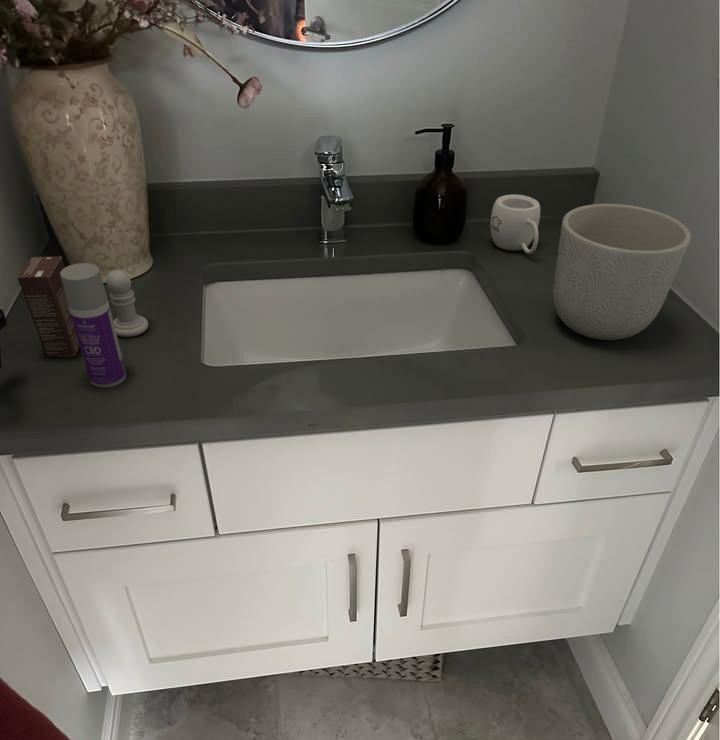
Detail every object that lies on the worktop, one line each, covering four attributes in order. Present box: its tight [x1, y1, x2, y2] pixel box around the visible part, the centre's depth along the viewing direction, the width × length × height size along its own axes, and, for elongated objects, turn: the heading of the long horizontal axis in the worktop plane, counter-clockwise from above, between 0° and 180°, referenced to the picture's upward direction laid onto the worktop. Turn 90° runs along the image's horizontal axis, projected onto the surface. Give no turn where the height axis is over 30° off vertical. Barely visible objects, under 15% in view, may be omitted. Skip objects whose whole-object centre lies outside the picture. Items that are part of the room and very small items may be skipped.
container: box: [60, 262, 127, 389], centre depth 87 cm, size 5×5×15 cm
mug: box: [489, 194, 541, 255], centre depth 122 cm, size 12×8×8 cm
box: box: [17, 255, 81, 358], centre depth 93 cm, size 6×4×12 cm
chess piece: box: [105, 269, 149, 338], centre depth 98 cm, size 5×5×9 cm
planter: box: [552, 203, 692, 341], centre depth 100 cm, size 17×17×15 cm
